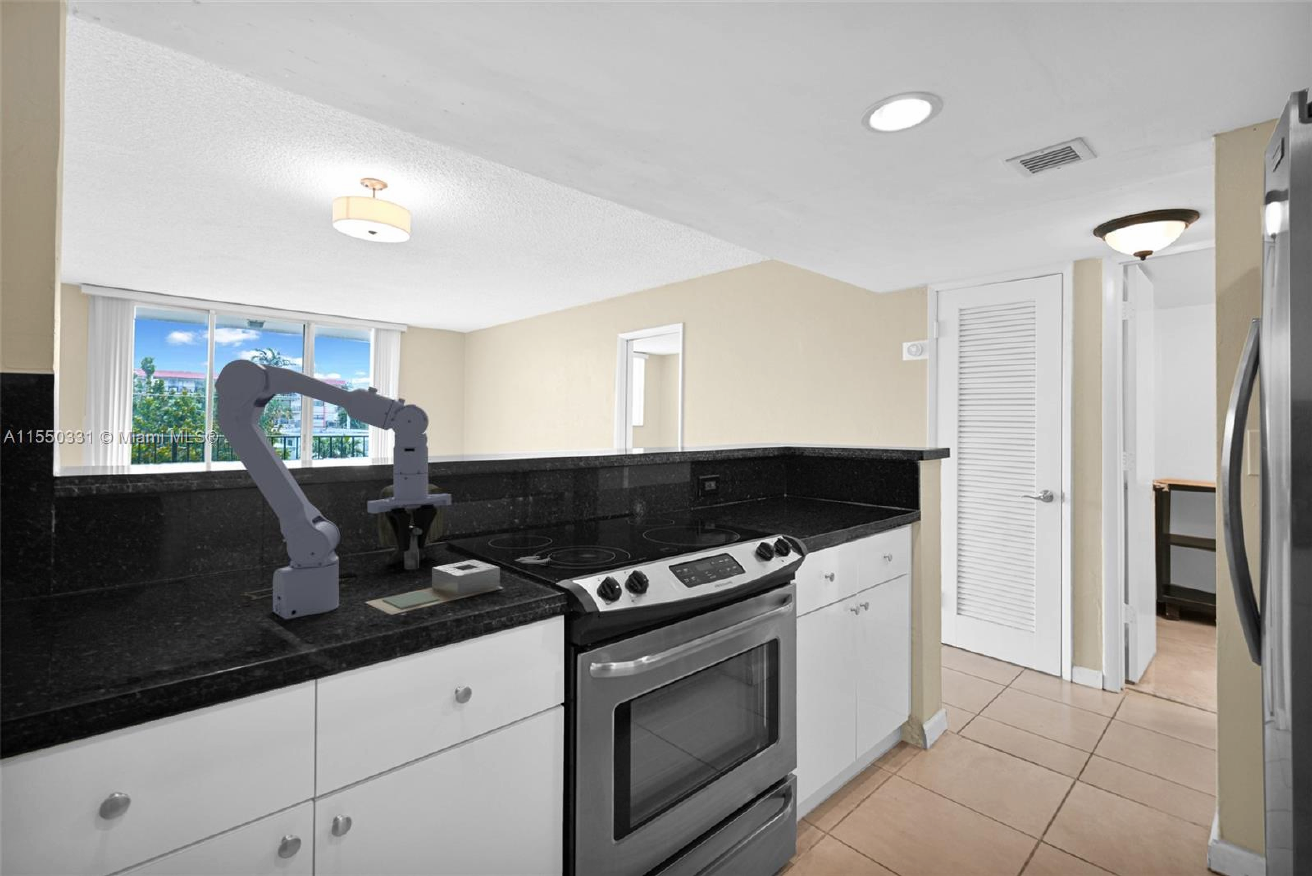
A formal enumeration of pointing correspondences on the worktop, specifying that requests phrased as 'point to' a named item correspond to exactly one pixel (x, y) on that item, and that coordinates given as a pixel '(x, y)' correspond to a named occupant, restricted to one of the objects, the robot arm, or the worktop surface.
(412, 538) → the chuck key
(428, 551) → the worktop surface
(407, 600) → the mat
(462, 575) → the block
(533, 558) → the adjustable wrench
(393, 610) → the board
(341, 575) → the hacksaw
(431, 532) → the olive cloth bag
